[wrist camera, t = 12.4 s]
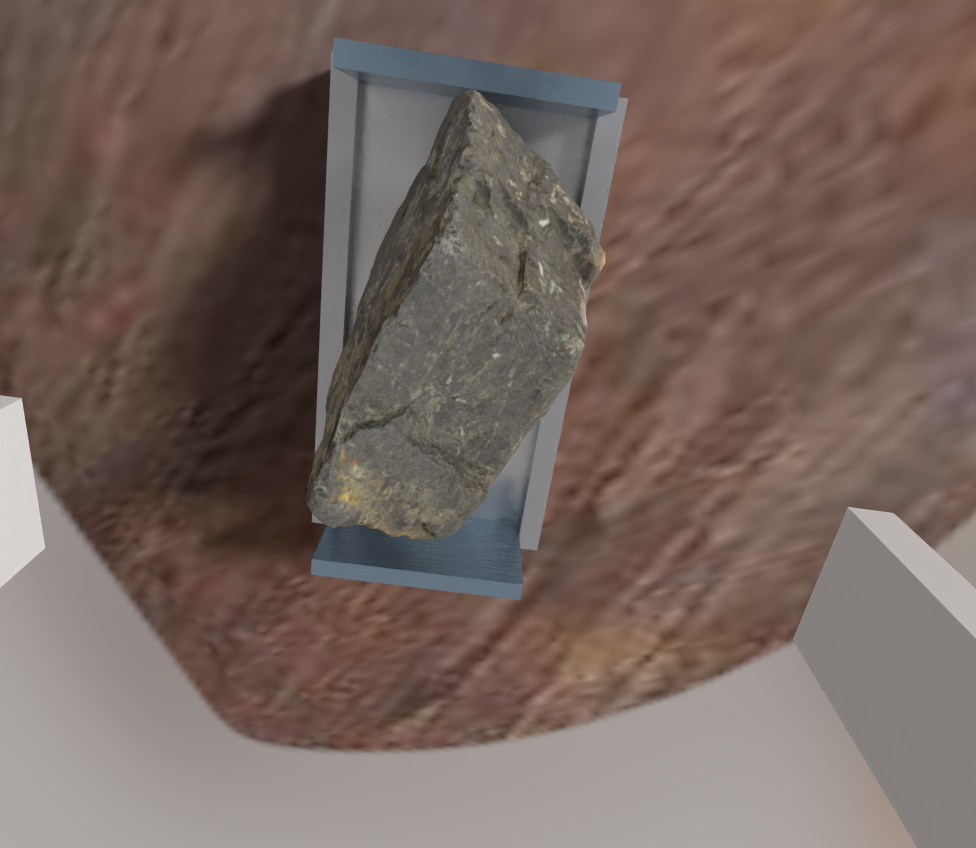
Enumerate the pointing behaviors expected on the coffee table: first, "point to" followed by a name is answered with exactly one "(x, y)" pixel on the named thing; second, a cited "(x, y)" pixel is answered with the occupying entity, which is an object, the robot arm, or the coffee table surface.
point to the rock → (455, 334)
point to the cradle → (358, 236)
